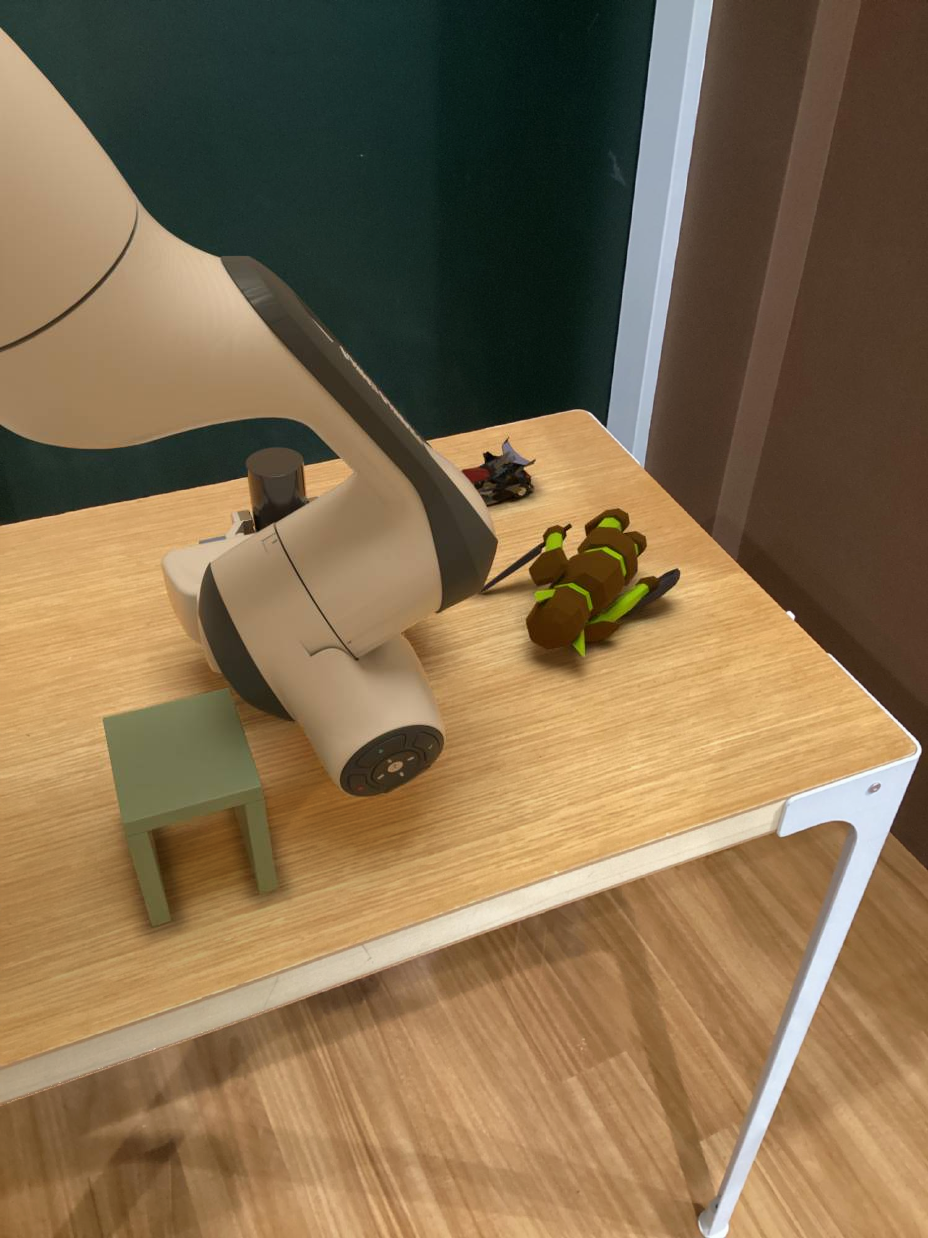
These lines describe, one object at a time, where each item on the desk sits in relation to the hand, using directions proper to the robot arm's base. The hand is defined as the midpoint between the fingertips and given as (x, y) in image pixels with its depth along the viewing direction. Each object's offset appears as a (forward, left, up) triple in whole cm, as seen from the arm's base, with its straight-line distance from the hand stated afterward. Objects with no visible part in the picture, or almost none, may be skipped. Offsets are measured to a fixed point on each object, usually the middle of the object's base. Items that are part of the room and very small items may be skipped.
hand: (277, 510), depth 86 cm
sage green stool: (-12, -25, -9) cm, 29 cm away
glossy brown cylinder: (0, -1, -5) cm, 5 cm away
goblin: (+22, -11, -9) cm, 26 cm away
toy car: (+21, +9, -9) cm, 24 cm away
